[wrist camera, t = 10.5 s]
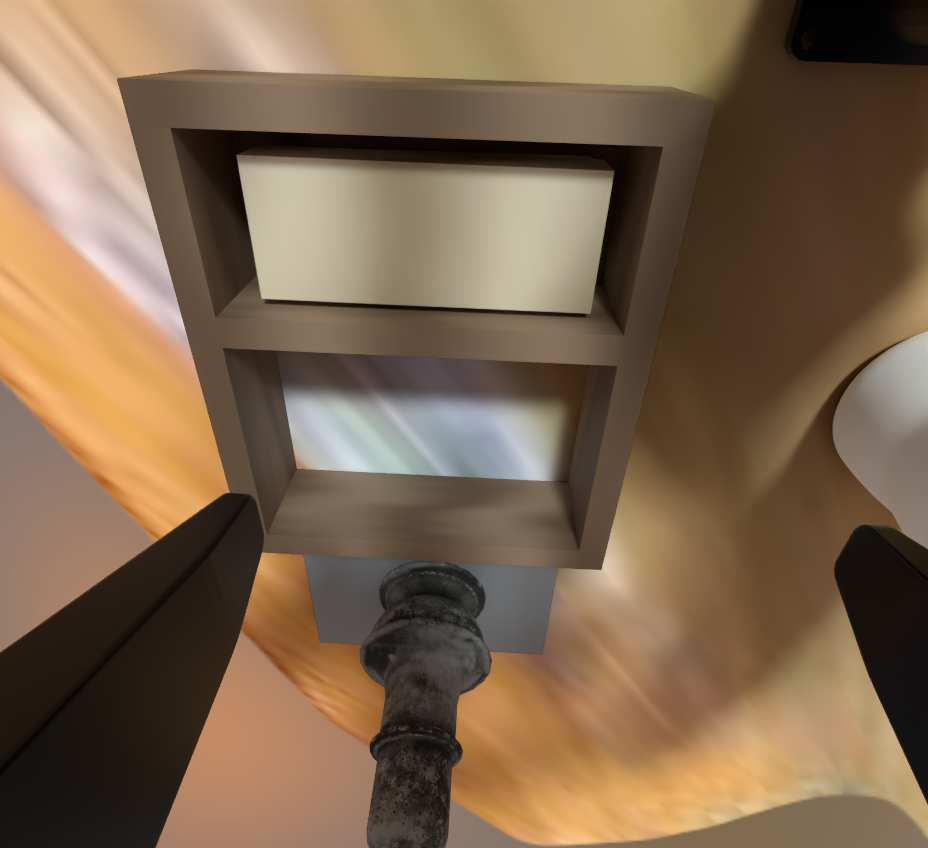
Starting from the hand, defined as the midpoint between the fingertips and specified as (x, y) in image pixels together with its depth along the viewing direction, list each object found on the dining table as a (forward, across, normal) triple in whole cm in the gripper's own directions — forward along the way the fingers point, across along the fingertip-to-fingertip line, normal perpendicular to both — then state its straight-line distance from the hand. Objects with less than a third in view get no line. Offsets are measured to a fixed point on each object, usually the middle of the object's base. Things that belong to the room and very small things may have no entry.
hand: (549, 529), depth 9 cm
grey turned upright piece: (+12, +3, +17) cm, 21 cm away
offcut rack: (+13, +3, +3) cm, 14 cm away
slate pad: (+13, +3, +17) cm, 22 cm away
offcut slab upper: (+12, +3, -1) cm, 12 cm away
